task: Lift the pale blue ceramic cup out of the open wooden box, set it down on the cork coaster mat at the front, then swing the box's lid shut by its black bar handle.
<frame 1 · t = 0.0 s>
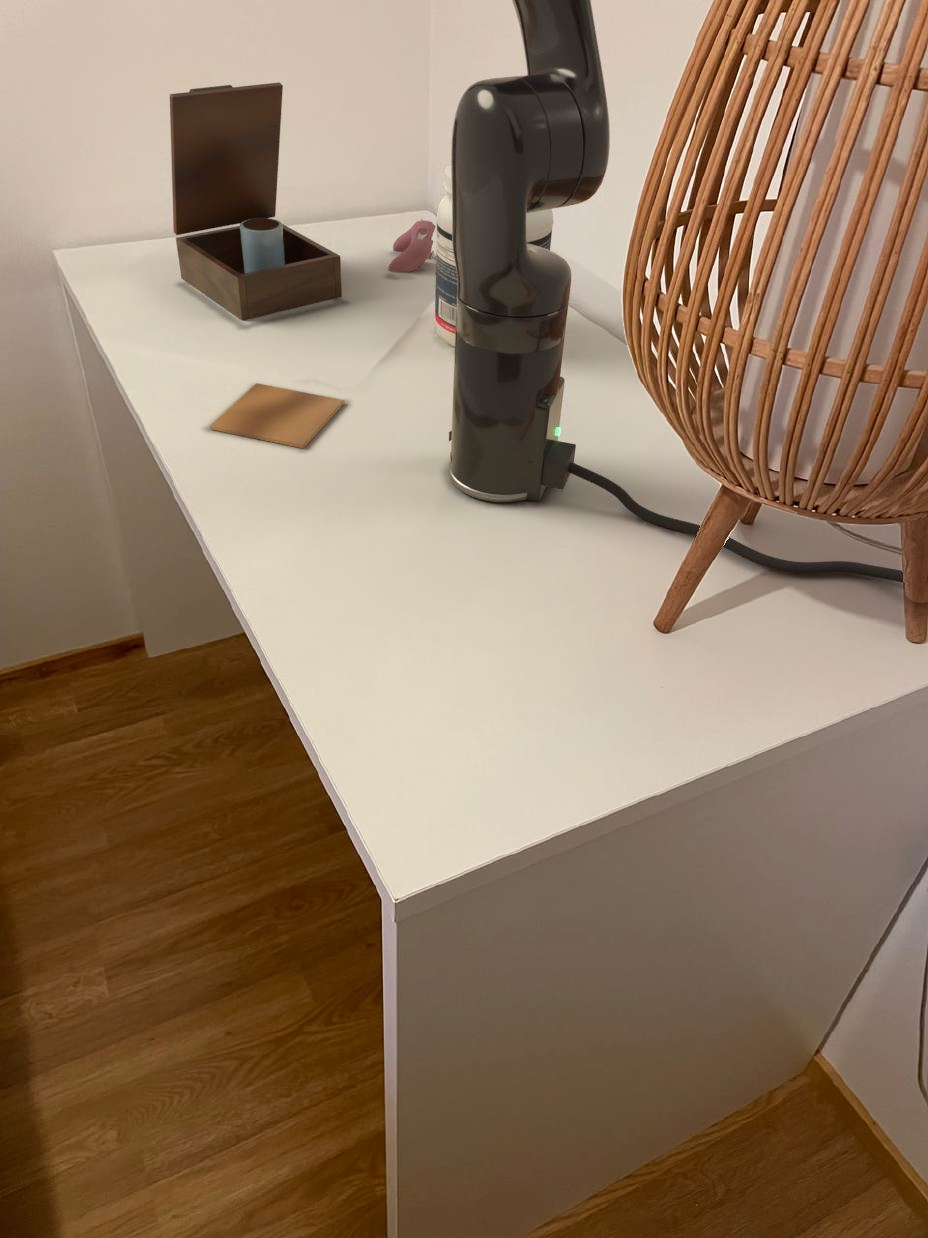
lid: (218, 151, 117), point 15 cm above the table, hinge at 75.0°
cup: (266, 290, 121), point 1 cm above the table, touching open wooden box
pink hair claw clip: (412, 267, 132), on the table
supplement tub: (487, 337, 115), on the table
mat: (279, 415, 98), on the table
open wooden box: (261, 293, 122), on the table
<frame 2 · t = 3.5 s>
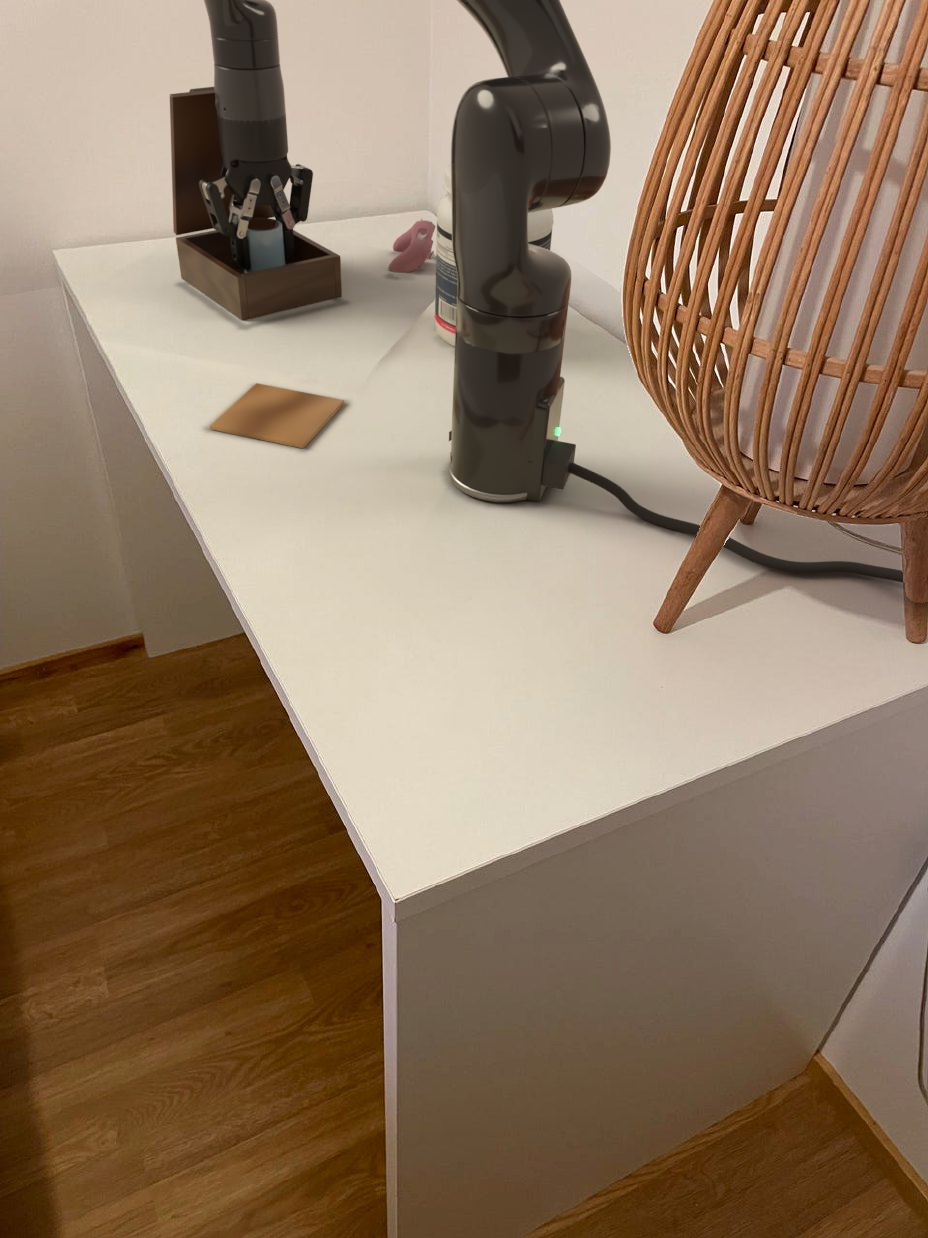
hand: (264, 262, 119), 4 cm above the table, tool pointing down, fingers closed on cup, 5 cm apart
cup: (266, 290, 121), point 1 cm above the table, touching open wooden box, gripper
everything else where it was.
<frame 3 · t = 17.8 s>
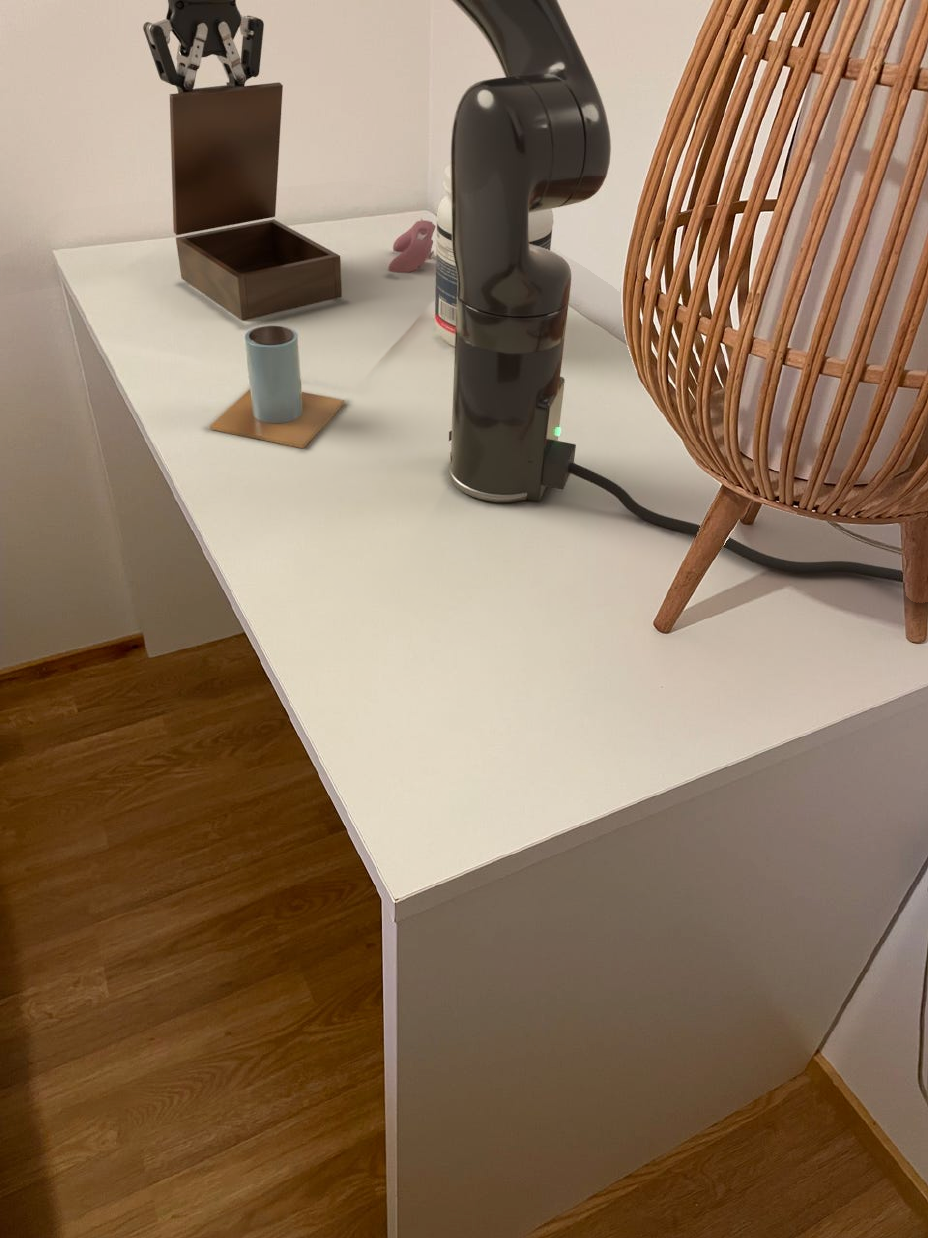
hand: (215, 120, 115), 18 cm above the table, tool pointing down, fingers closed on lid, 5 cm apart
lid: (218, 151, 117), point 15 cm above the table, hinge at 75.0°, touching gripper
cup: (277, 411, 98), resting on mat
everything else where it was.
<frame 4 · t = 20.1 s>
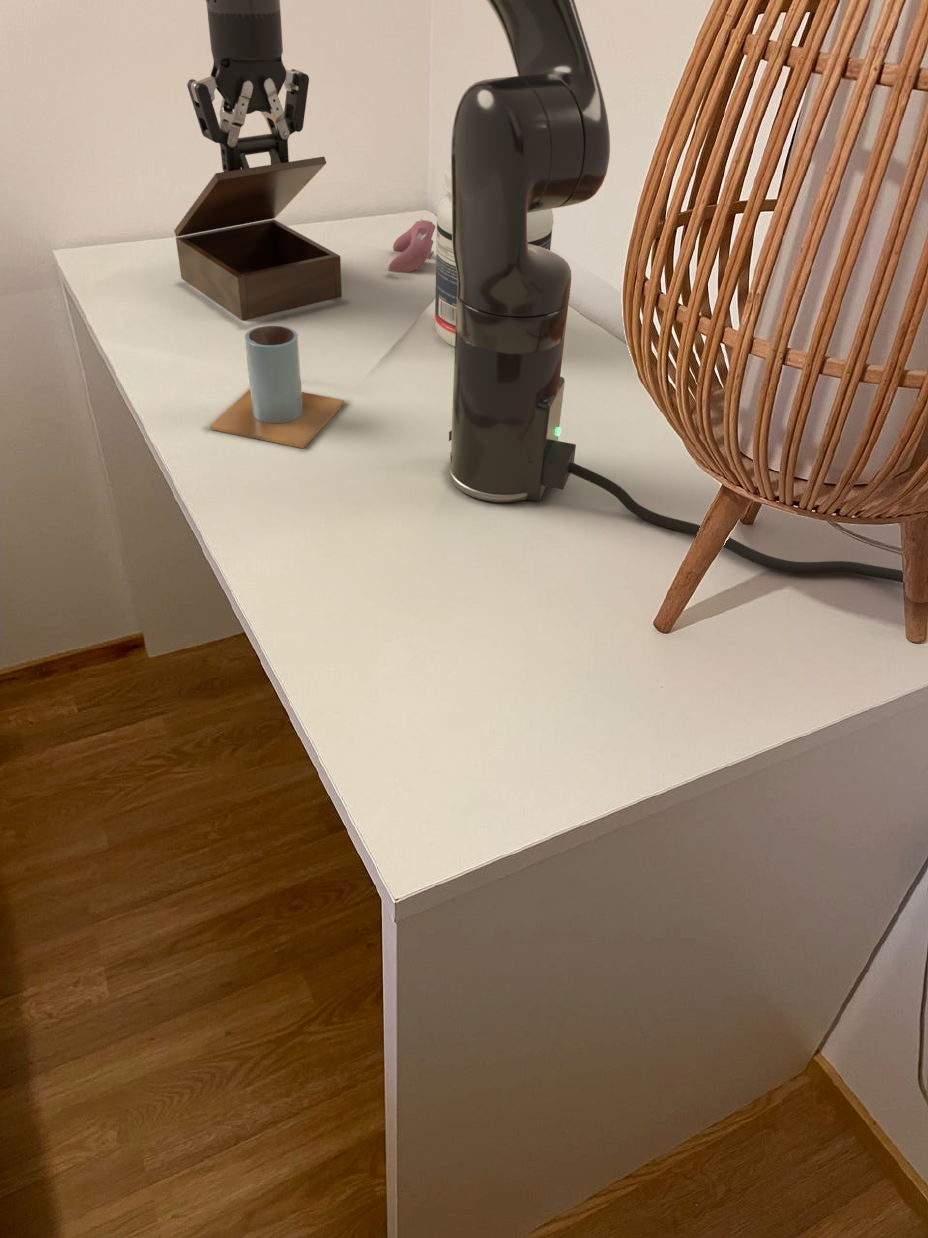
hand: (257, 175, 112), 14 cm above the table, tool pointing down, fingers closed on lid, 5 cm apart
lid: (241, 180, 115), point 13 cm above the table, hinge at 36.3°, touching gripper
everything else where it was.
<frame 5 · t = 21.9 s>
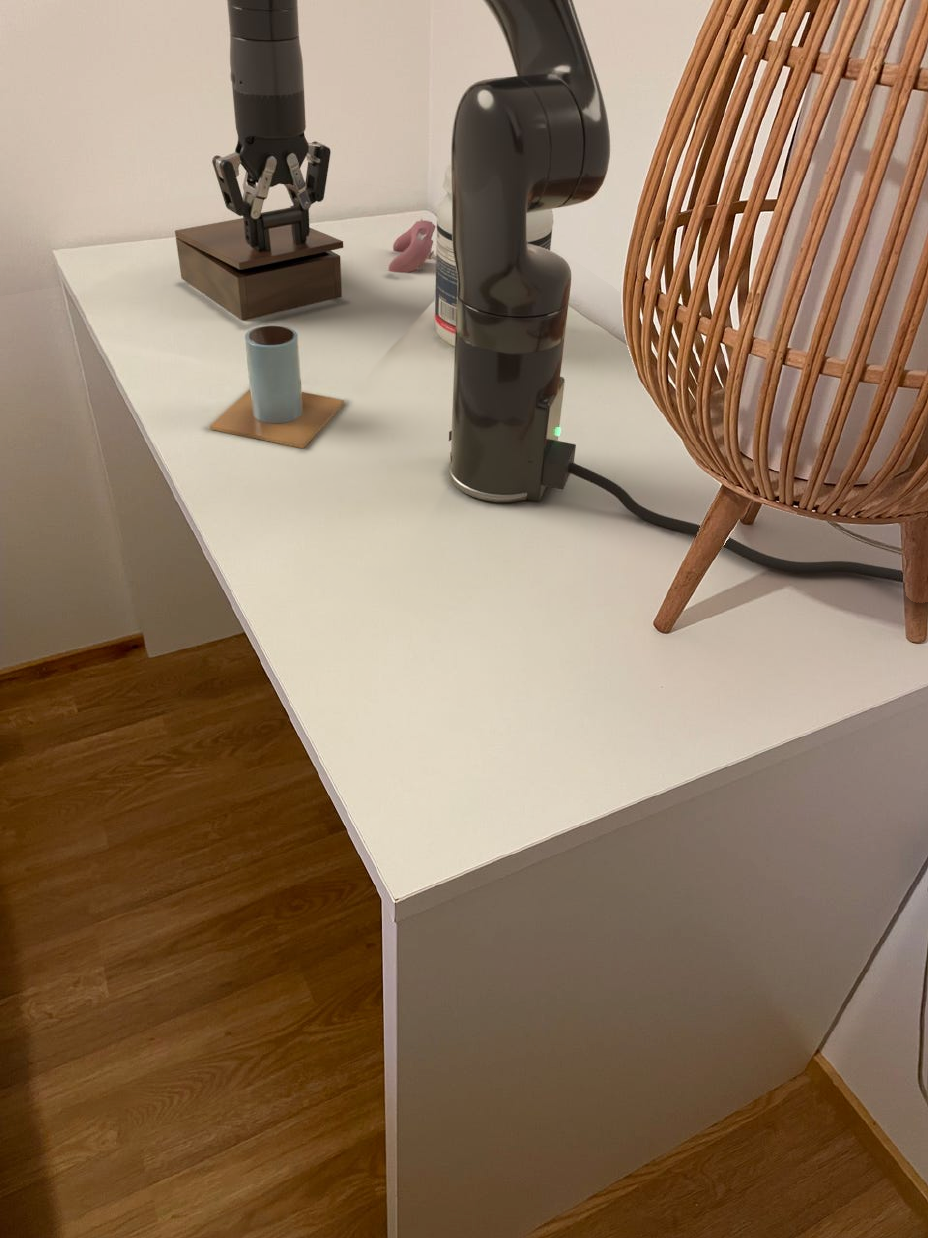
hand: (278, 243, 114), 8 cm above the table, tool pointing down, fingers closed on lid, 5 cm apart
lid: (255, 221, 116), point 9 cm above the table, hinge at 3.8°, touching gripper
everything else where it was.
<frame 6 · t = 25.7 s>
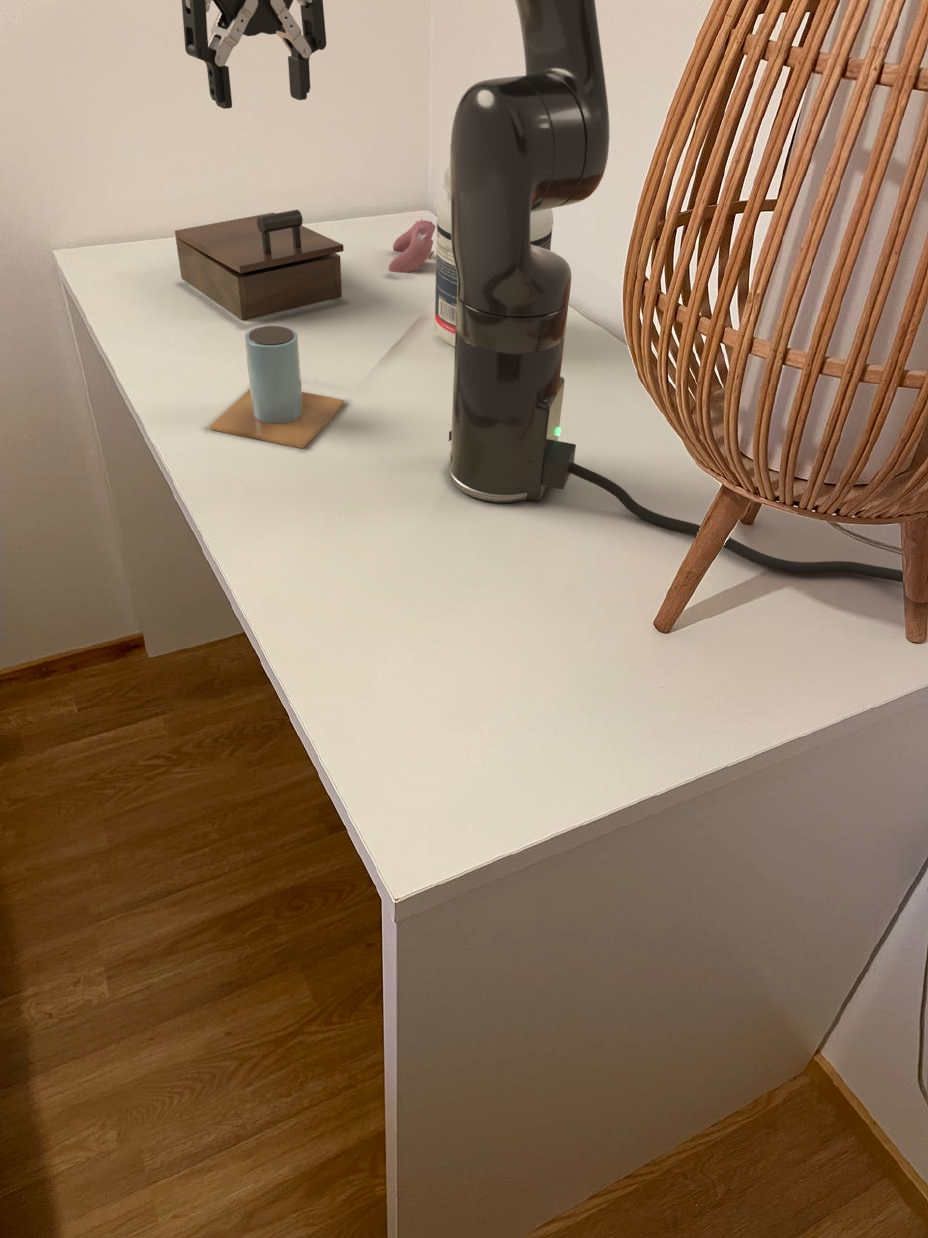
hand: (262, 102, 99), 24 cm above the table, tool pointing down, fingers open, 8 cm apart
lid: (256, 222, 116), point 9 cm above the table, hinge at 2.4°
everything else where it was.
at the end: cup 0.1 cm off-centre on the mat, point 0.4 cm above the mat's base; cup tilted 0°; lid at +2° (first picture: +75°) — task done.
